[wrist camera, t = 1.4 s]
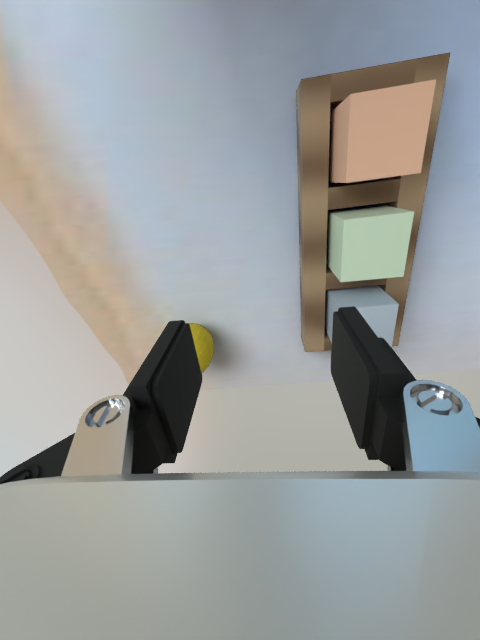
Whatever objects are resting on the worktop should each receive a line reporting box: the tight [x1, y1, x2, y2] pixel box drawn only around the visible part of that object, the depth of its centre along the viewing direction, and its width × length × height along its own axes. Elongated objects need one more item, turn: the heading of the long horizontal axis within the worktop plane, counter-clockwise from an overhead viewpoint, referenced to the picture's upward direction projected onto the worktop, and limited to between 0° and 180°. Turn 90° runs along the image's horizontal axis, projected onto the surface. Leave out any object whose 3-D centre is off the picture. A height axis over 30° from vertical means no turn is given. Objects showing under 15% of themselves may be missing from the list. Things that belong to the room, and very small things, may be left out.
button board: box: [296, 53, 450, 352], centre depth 26 cm, size 24×10×3 cm, turn 7°
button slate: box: [326, 285, 399, 348], centre depth 27 cm, size 5×5×5 cm
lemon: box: [188, 323, 214, 373], centre depth 30 cm, size 6×6×8 cm
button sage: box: [327, 206, 414, 282], centre depth 23 cm, size 5×5×5 cm
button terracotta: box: [330, 79, 436, 183], centre depth 20 cm, size 5×5×5 cm
